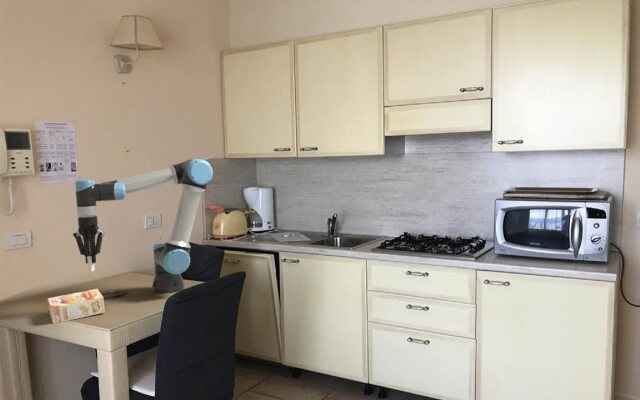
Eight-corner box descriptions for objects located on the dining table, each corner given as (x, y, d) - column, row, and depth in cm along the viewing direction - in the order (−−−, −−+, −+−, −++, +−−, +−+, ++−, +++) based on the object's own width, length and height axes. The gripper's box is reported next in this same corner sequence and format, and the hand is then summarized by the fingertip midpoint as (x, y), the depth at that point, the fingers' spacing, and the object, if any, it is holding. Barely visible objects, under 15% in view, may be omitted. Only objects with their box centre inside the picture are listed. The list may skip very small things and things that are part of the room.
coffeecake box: (103, 296, 212) (50, 307, 202) (105, 313, 213) (52, 325, 203) (96, 287, 225) (46, 297, 214) (98, 303, 226) (49, 314, 216)
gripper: (106, 214, 222) (110, 268, 224) (77, 215, 223) (81, 269, 225) (98, 216, 215) (102, 272, 217) (67, 217, 216) (72, 273, 218)
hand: (91, 270), depth 221 cm, fingers closed
